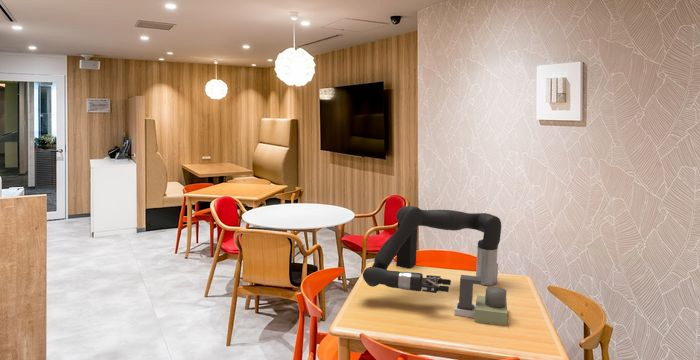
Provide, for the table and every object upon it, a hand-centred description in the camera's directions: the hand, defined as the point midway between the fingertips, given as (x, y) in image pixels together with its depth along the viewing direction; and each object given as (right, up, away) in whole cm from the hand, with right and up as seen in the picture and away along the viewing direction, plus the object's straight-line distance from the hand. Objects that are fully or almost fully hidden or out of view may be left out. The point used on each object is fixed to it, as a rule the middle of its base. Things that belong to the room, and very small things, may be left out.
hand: (449, 285), depth 210 cm
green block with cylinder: (+12, -11, -2) cm, 17 cm away
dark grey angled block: (+8, -11, -1) cm, 13 cm away
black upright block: (-11, -2, +60) cm, 61 cm away
